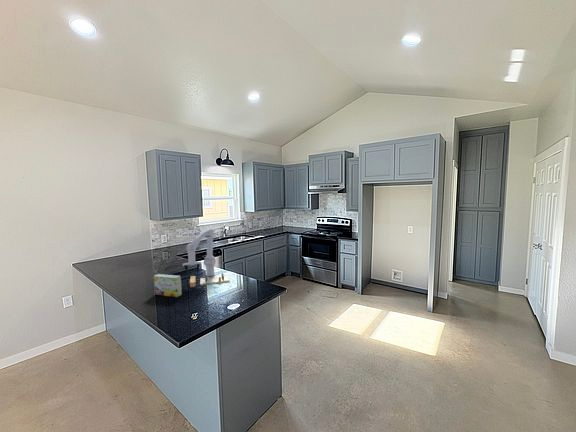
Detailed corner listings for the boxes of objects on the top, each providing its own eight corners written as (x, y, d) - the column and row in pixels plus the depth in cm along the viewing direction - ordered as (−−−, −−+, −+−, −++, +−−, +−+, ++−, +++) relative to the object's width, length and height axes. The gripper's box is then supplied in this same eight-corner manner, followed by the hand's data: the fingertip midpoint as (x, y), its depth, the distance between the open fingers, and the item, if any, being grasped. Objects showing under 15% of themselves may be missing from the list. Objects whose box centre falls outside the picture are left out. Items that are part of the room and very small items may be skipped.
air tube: (190, 280, 232) (190, 276, 232) (195, 280, 233) (195, 275, 233) (190, 287, 215) (189, 282, 215) (195, 286, 216) (194, 282, 216)
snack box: (154, 295, 200) (153, 275, 199) (160, 292, 206) (158, 273, 204) (177, 297, 194) (176, 277, 193) (182, 294, 199) (181, 275, 198)
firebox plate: (200, 279, 233) (200, 274, 233) (227, 276, 241) (227, 271, 241) (200, 285, 218) (199, 280, 218) (229, 281, 226) (229, 276, 225)
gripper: (182, 259, 216) (183, 275, 217) (200, 257, 221) (201, 273, 221) (182, 257, 223) (183, 273, 224) (200, 256, 227) (201, 271, 228)
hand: (192, 273), depth 223 cm, fingers open, 7 cm apart
